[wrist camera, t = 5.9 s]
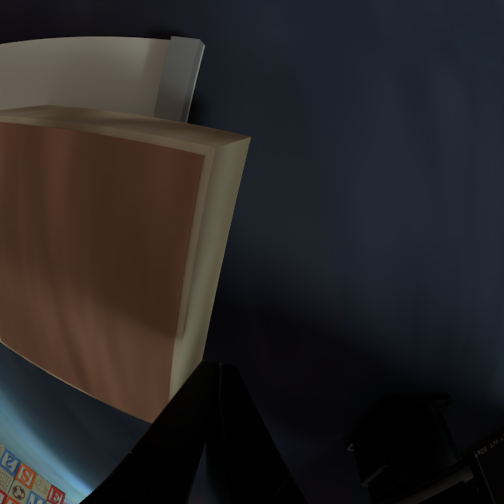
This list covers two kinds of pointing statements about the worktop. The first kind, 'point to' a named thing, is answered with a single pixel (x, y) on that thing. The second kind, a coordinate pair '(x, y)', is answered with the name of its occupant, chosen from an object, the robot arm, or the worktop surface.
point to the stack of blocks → (24, 483)
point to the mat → (102, 74)
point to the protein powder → (491, 462)
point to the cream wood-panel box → (113, 246)
